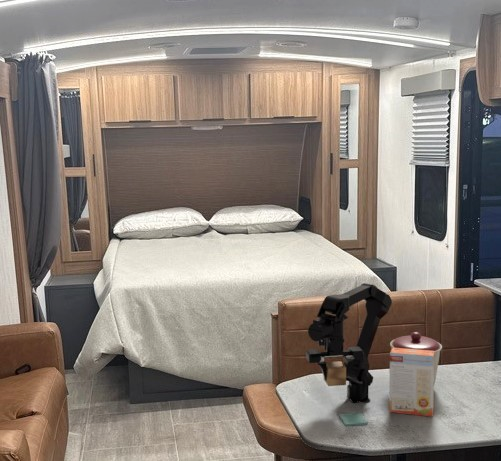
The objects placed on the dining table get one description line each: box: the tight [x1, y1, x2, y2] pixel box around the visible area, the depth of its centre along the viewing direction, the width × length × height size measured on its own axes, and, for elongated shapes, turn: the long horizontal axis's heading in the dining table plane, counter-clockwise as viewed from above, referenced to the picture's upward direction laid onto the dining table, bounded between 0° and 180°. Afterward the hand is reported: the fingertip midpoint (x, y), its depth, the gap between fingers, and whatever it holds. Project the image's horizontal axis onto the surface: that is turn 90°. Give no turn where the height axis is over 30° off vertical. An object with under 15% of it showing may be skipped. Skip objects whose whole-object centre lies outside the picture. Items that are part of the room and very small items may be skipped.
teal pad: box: [338, 412, 369, 427], centre depth 203 cm, size 7×7×1 cm
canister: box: [389, 331, 443, 386], centre depth 226 cm, size 18×18×21 cm
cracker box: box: [388, 347, 435, 417], centre depth 207 cm, size 14×6×21 cm, turn 71°
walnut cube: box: [323, 361, 347, 387], centre depth 209 cm, size 6×6×6 cm
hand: (334, 379), depth 209 cm, fingers closed on walnut cube, 6 cm apart
